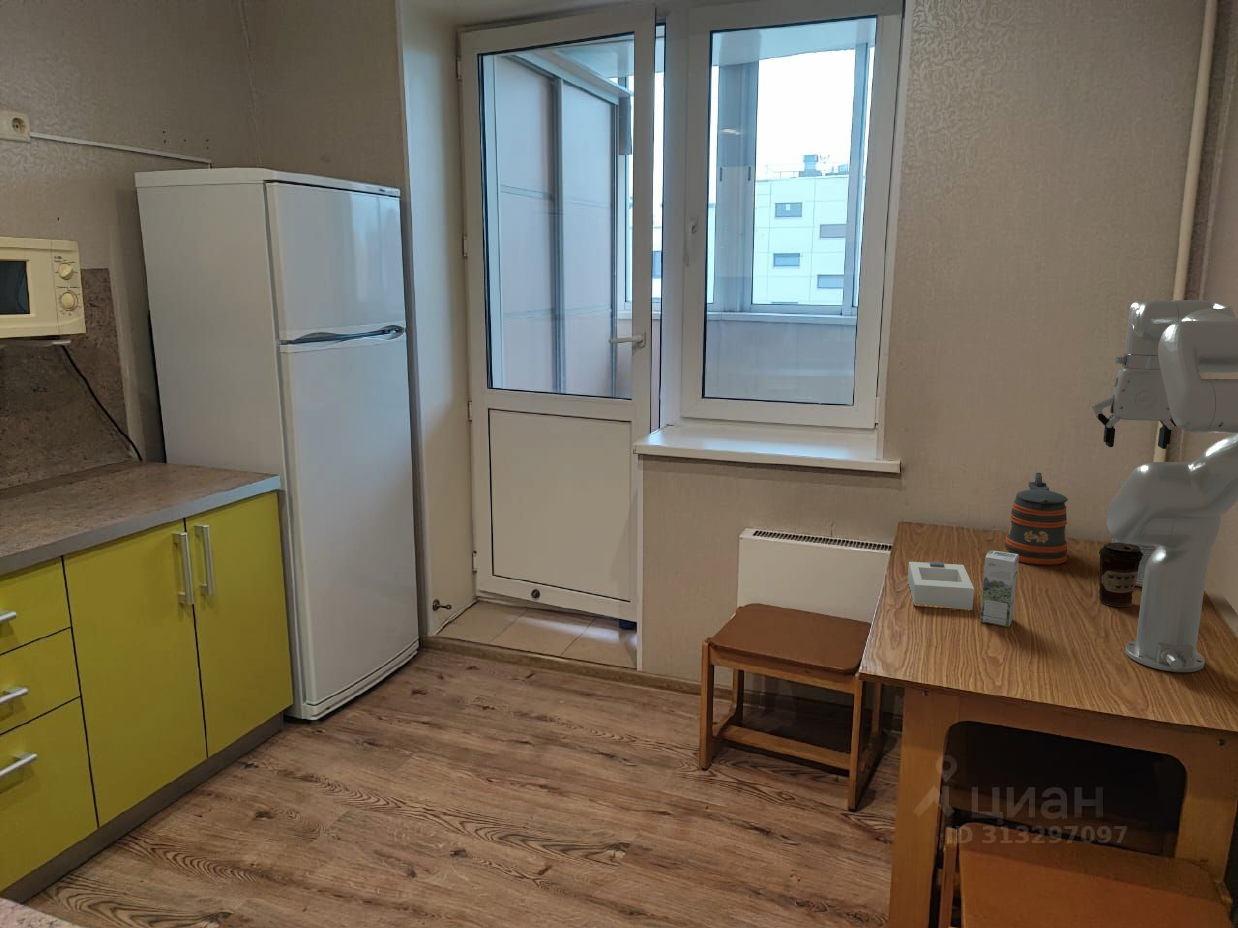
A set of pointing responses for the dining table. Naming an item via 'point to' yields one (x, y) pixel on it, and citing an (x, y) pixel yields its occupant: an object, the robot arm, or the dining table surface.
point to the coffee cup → (1118, 573)
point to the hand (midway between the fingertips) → (1135, 446)
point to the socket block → (940, 584)
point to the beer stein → (1038, 526)
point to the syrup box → (999, 588)
